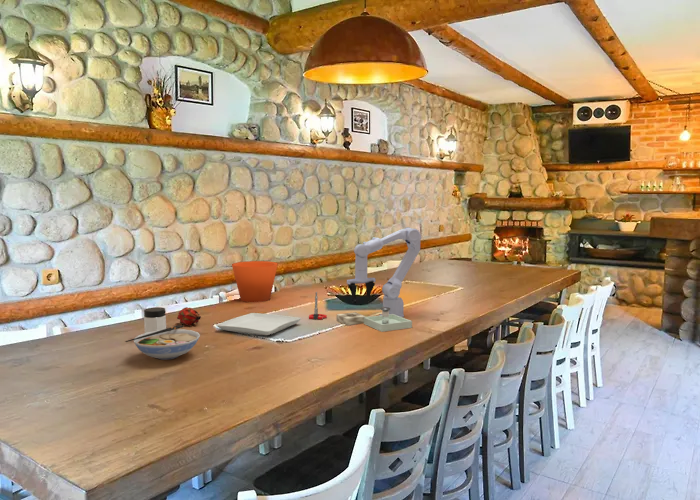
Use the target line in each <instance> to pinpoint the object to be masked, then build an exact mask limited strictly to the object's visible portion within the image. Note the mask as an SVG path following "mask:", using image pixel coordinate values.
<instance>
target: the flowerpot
mask: <svg viewBox="0 0 700 500" xmlns="http://www.w3.org/2000/svg"><path fill="white" fill-rule="evenodd" d="M278 264H279V263H278V262H274V261H267V260H266V261H265V260H263V261H262V260H253V261H252V260H249V261H248V260H247V261H237V262H233V263H231V267H232V270H233V271H232V272H233V275H234V279H235V284H236V287H237V290H238V291H237V292H238V294H239V295H238V296H239V298H240V301H241V302H245V303H262V302H263V303H264V302H268V301H270V300H271V296H272V292H273V288H274V283H275V278H276V273H277V269H278Z"/></svg>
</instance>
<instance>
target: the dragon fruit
mask: <svg viewBox="0 0 700 500" xmlns="http://www.w3.org/2000/svg"><path fill="white" fill-rule="evenodd" d="M201 318H202V317H201V316H200V313H199V312H198V311H197V310H195V309H194V308H192V307H187V306H186V307H183V308H182V309H181V310H179V311H178V313H177V317H176V319H177V320H179V322H180V325H181V326H182V325H186V326H188V327H193V326H194V325H195V324H198V323H199V322H200V320H201Z"/></svg>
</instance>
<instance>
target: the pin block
mask: <svg viewBox="0 0 700 500" xmlns="http://www.w3.org/2000/svg"><path fill="white" fill-rule="evenodd" d="M364 317H367V316H366V315H363V314H361V313H358V312H356V311H354V312H346V313H337V314H336V321H337V322H339V323H341V324H343V325H345V326H353V325H361V324H364Z"/></svg>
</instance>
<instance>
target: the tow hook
mask: <svg viewBox="0 0 700 500" xmlns="http://www.w3.org/2000/svg"><path fill="white" fill-rule="evenodd" d="M318 299H319V297H318V291H315V297H314V309H313V311H314V313H312V314H309V315H308V319H309V320H316V319H318V320H320V321H323V320H324V319H326V318H327V317H328V315H326V314H324V313H319V312H318V311H319V307H318V301H319V300H318Z"/></svg>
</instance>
